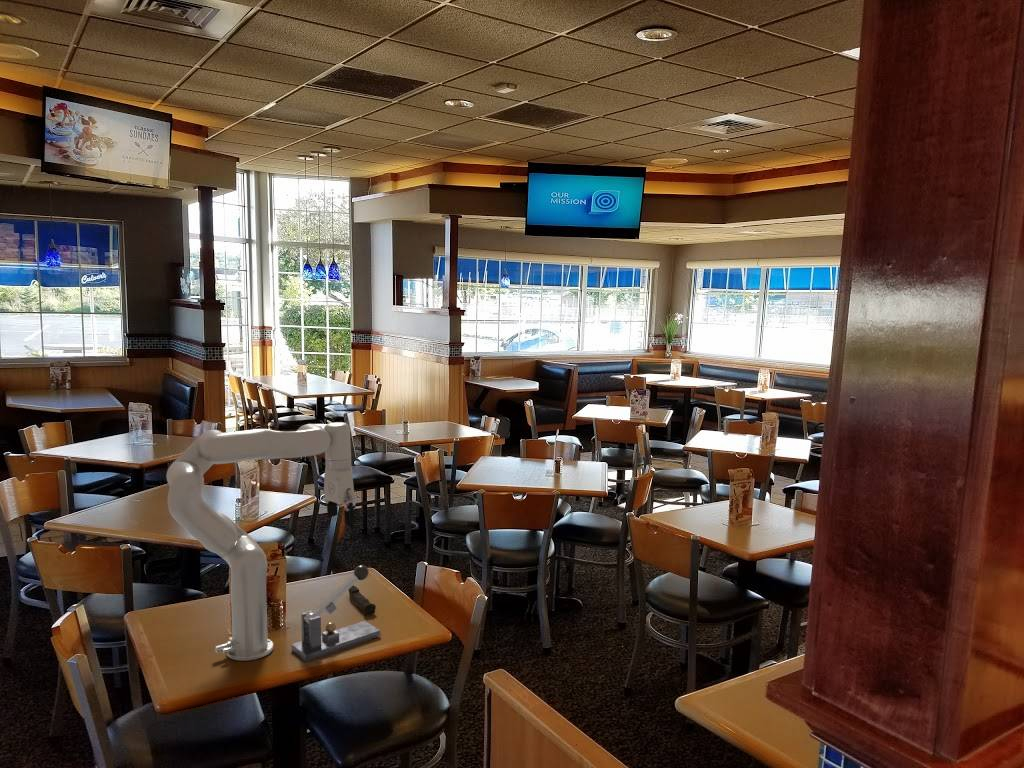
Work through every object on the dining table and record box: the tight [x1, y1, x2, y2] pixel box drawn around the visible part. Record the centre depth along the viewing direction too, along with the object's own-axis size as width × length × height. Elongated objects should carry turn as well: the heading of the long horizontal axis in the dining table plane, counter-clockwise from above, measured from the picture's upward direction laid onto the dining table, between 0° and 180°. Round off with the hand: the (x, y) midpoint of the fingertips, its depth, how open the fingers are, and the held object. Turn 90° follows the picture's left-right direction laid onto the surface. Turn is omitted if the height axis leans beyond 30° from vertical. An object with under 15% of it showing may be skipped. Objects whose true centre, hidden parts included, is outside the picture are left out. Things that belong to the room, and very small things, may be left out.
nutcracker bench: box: [291, 610, 381, 663], centre depth 214 cm, size 24×9×11 cm, turn 132°
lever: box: [304, 564, 370, 624], centre depth 214 cm, size 23×4×5 cm
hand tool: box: [348, 585, 376, 617], centre depth 243 cm, size 19×4×5 cm, turn 30°
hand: (341, 519), depth 220 cm, fingers open, 9 cm apart
